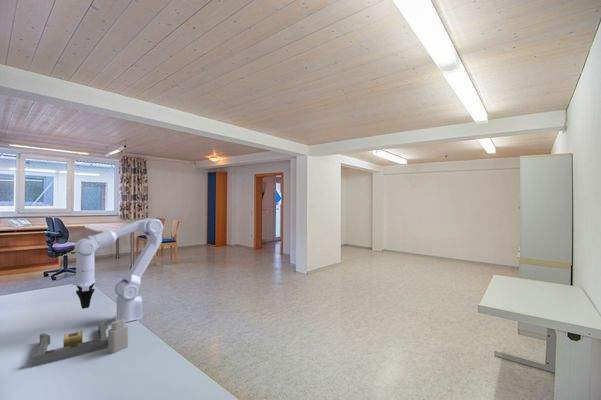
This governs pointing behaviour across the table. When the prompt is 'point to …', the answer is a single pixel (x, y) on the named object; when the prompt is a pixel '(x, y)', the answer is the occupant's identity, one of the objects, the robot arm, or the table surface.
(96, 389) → the table surface
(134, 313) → the robot arm
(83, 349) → the grey square frame
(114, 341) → the power adapter
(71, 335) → the brass cube with recess
